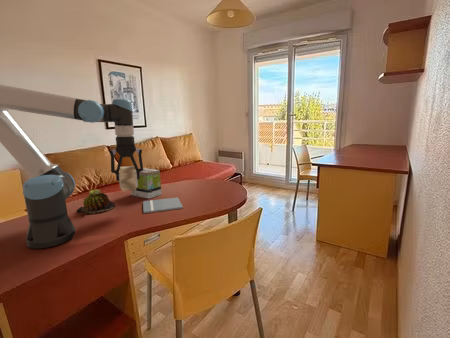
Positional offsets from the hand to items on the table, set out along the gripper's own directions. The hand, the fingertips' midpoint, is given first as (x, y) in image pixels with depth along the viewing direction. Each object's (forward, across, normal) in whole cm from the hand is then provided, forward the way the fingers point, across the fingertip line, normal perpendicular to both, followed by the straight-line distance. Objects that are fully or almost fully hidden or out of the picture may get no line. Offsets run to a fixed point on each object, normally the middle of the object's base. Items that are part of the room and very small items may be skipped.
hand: (128, 186), depth 110 cm
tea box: (+12, +8, +26) cm, 30 cm away
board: (+12, +14, +4) cm, 19 cm away
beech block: (+1, 0, 0) cm, 1 cm away
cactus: (+13, -16, +12) cm, 24 cm away
